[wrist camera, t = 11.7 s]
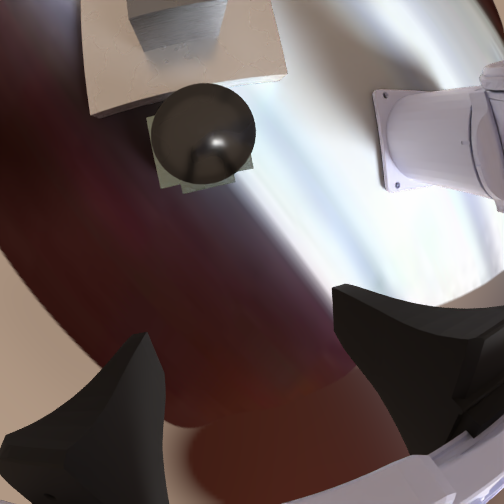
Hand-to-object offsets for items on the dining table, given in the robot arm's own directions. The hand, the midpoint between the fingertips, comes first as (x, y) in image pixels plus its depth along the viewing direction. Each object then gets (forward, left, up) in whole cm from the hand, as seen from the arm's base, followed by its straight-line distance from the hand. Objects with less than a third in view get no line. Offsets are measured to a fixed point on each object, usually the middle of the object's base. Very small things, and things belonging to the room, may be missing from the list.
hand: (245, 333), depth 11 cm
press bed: (0, -13, -10) cm, 16 cm away
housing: (0, -16, -8) cm, 18 cm away
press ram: (0, -7, -7) cm, 10 cm away
